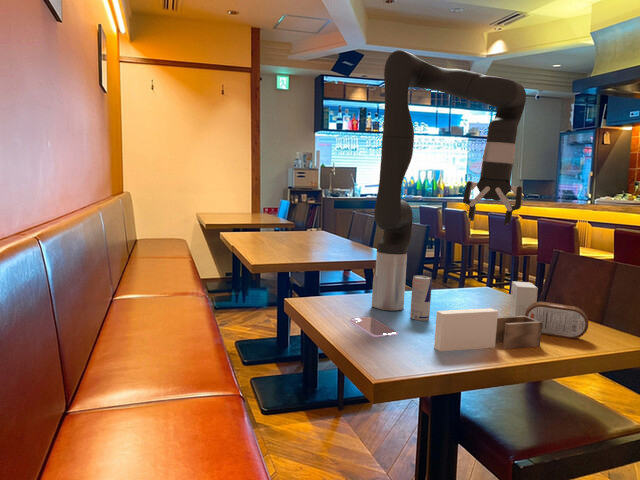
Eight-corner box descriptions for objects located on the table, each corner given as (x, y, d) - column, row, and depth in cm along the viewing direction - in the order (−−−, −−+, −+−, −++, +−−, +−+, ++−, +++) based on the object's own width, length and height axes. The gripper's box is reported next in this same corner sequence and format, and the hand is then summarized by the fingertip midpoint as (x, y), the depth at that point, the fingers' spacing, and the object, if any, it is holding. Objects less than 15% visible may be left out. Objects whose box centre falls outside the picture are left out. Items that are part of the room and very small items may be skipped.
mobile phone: (373, 334, 116) (347, 317, 130) (373, 338, 116) (347, 321, 130) (400, 332, 119) (371, 316, 133) (399, 336, 119) (371, 319, 133)
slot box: (505, 348, 112) (508, 324, 111) (489, 340, 118) (491, 317, 117) (540, 346, 115) (542, 322, 114) (522, 338, 121) (525, 315, 120)
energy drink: (432, 318, 135) (435, 277, 134) (422, 322, 131) (425, 280, 130) (416, 314, 139) (419, 274, 137) (406, 317, 135) (409, 276, 133)
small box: (534, 324, 134) (538, 288, 133) (514, 322, 135) (517, 286, 134) (528, 316, 142) (531, 282, 140) (508, 314, 143) (511, 280, 141)
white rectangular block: (439, 351, 109) (442, 314, 107) (434, 347, 111) (436, 310, 110) (494, 347, 113) (498, 311, 112) (488, 343, 115) (491, 308, 114)
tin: (586, 339, 122) (590, 307, 121) (587, 342, 120) (590, 310, 119) (523, 329, 129) (526, 299, 128) (523, 332, 126) (526, 301, 125)
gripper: (528, 163, 122) (518, 225, 125) (471, 159, 128) (463, 217, 131) (526, 163, 115) (516, 228, 118) (467, 158, 121) (458, 220, 124)
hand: (488, 222), depth 125 cm, fingers open, 8 cm apart
